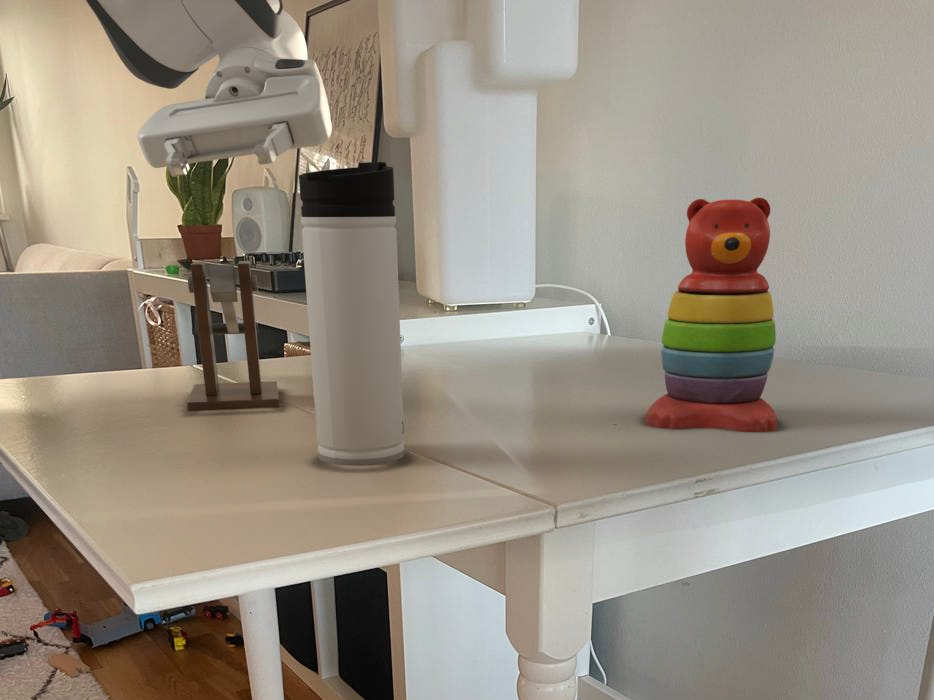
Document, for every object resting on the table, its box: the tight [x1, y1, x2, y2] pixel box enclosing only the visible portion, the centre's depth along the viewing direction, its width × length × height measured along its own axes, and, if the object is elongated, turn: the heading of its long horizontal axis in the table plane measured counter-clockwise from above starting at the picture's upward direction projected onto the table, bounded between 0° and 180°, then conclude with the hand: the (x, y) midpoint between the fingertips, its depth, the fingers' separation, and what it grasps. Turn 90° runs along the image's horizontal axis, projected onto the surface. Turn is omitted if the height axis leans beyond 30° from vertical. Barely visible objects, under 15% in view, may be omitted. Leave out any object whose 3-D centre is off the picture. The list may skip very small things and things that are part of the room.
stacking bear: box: [645, 197, 778, 433], centre depth 81 cm, size 11×10×18 cm
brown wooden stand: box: [186, 260, 280, 412], centre depth 89 cm, size 10×8×13 cm
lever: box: [207, 264, 259, 336], centre depth 94 cm, size 16×5×2 cm, turn 11°
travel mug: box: [298, 161, 405, 467], centre depth 67 cm, size 6×7×20 cm
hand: (219, 162), depth 97 cm, fingers open, 8 cm apart
